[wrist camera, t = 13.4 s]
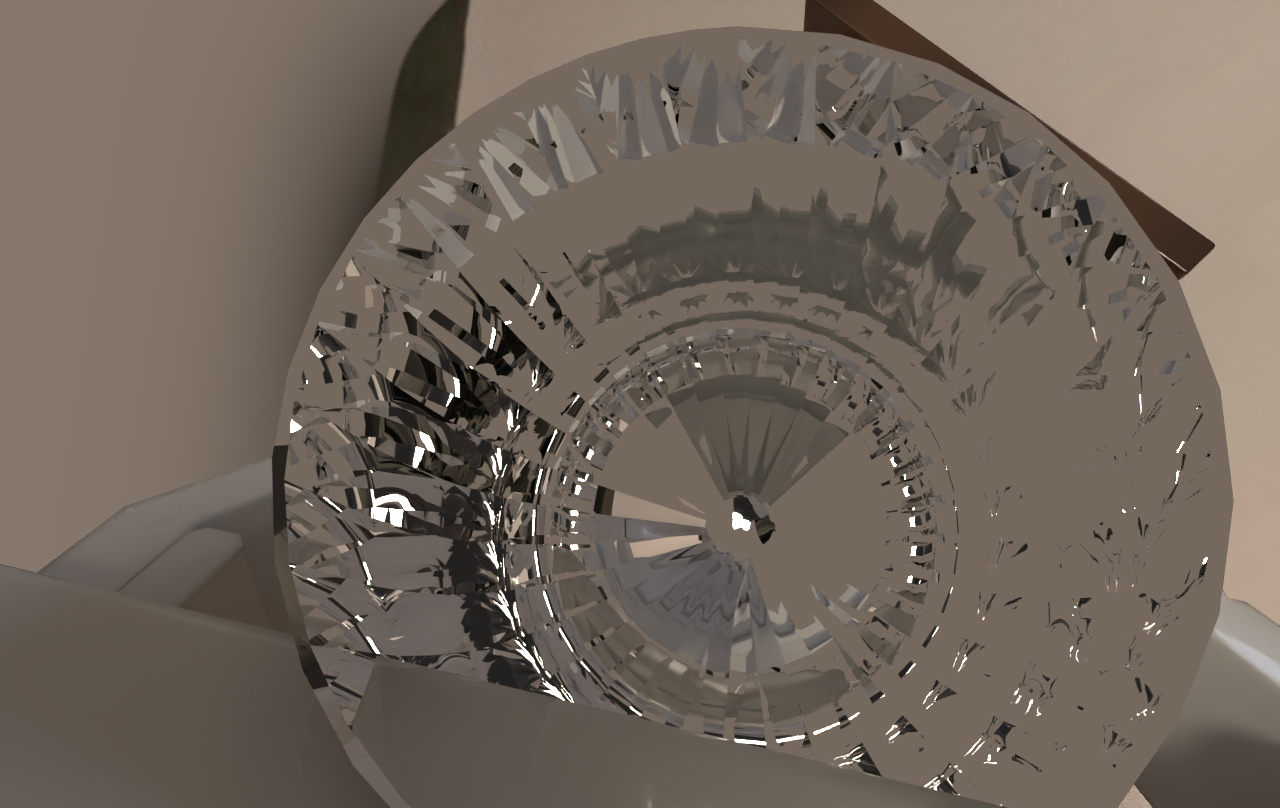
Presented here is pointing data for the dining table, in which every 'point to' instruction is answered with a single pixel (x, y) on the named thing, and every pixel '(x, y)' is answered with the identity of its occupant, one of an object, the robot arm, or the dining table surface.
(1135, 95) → the dining table surface
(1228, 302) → the dining table surface
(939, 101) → the wineglass
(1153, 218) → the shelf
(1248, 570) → the dining table surface
